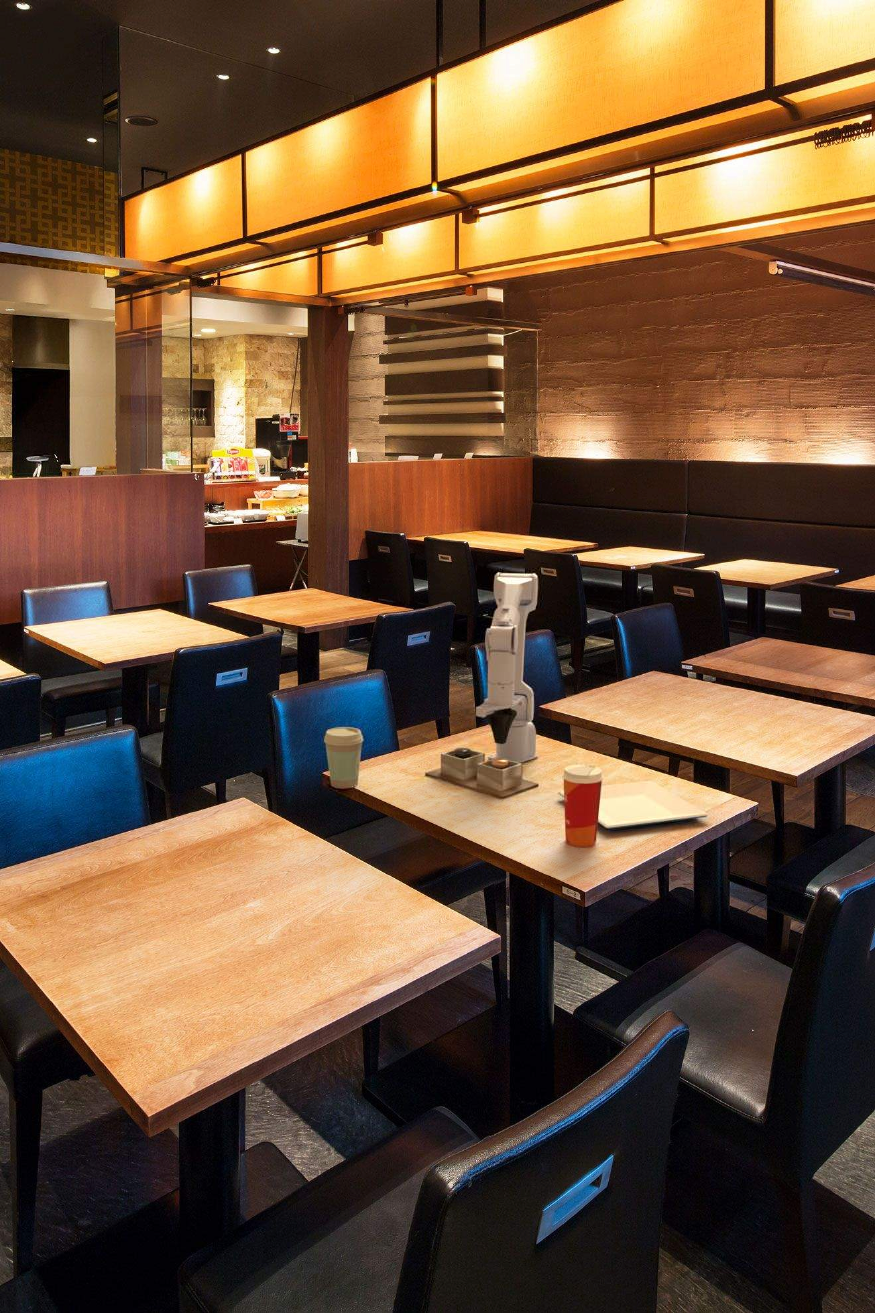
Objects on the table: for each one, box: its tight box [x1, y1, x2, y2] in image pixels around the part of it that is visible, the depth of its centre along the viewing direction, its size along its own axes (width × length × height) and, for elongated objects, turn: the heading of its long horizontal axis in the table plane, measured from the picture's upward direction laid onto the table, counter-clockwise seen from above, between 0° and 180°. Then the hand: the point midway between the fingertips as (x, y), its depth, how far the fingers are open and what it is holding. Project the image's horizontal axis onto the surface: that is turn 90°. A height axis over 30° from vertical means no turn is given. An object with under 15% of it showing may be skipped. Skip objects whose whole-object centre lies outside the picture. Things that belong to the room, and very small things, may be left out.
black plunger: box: [454, 747, 472, 759], centre depth 228 cm, size 5×5×5 cm
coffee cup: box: [323, 726, 364, 790], centre depth 221 cm, size 8×9×12 cm
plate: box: [557, 780, 709, 830], centre depth 206 cm, size 22×22×2 cm
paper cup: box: [561, 764, 605, 848], centre depth 188 cm, size 8×8×14 cm
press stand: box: [424, 749, 539, 800], centre depth 224 cm, size 12×23×5 cm, turn 46°
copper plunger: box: [492, 758, 508, 770], centre depth 220 cm, size 5×5×5 cm
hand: (500, 743), depth 219 cm, fingers closed
